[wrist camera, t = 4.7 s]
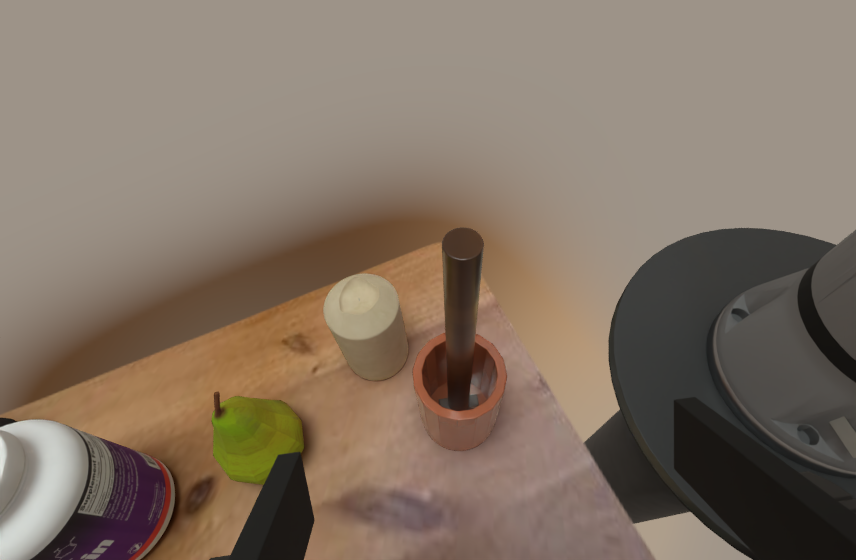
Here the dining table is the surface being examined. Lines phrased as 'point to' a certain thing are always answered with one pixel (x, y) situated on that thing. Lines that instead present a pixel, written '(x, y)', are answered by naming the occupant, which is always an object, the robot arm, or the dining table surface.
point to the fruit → (253, 436)
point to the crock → (486, 382)
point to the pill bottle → (78, 495)
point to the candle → (368, 325)
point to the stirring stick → (461, 312)
